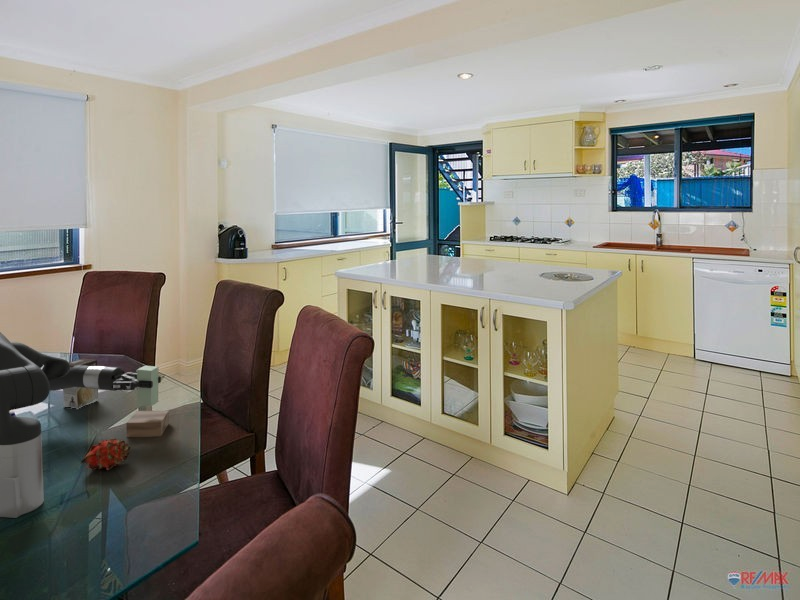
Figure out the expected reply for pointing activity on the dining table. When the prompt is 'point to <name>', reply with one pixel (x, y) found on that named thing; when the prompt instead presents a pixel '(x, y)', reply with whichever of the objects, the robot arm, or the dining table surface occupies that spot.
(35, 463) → the robot arm
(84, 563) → the dining table surface
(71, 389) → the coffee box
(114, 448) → the dragon fruit
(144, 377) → the sage block
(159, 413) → the tan flat square block
